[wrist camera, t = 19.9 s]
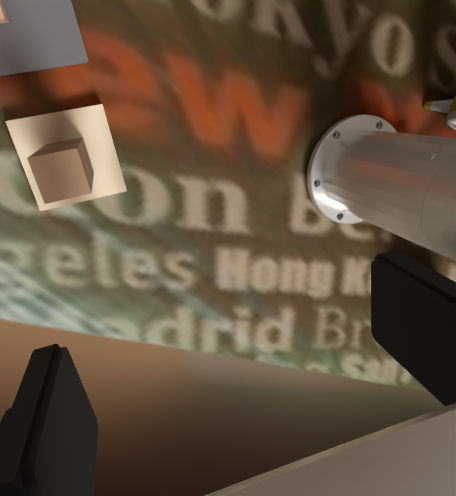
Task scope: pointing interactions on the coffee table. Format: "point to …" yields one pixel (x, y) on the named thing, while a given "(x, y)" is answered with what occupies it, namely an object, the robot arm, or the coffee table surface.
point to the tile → (3, 14)
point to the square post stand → (68, 156)
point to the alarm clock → (444, 109)
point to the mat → (39, 36)
